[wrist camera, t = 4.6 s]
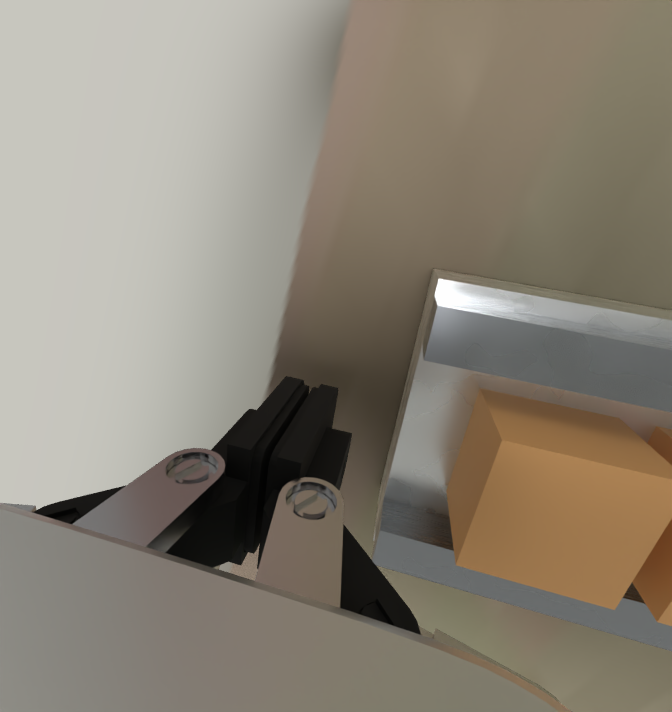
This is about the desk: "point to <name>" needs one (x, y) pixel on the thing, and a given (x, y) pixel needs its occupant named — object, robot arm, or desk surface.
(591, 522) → the chip
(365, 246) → the desk surface
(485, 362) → the slot block
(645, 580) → the orange square block
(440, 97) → the desk surface
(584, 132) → the desk surface
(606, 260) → the desk surface
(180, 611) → the robot arm
